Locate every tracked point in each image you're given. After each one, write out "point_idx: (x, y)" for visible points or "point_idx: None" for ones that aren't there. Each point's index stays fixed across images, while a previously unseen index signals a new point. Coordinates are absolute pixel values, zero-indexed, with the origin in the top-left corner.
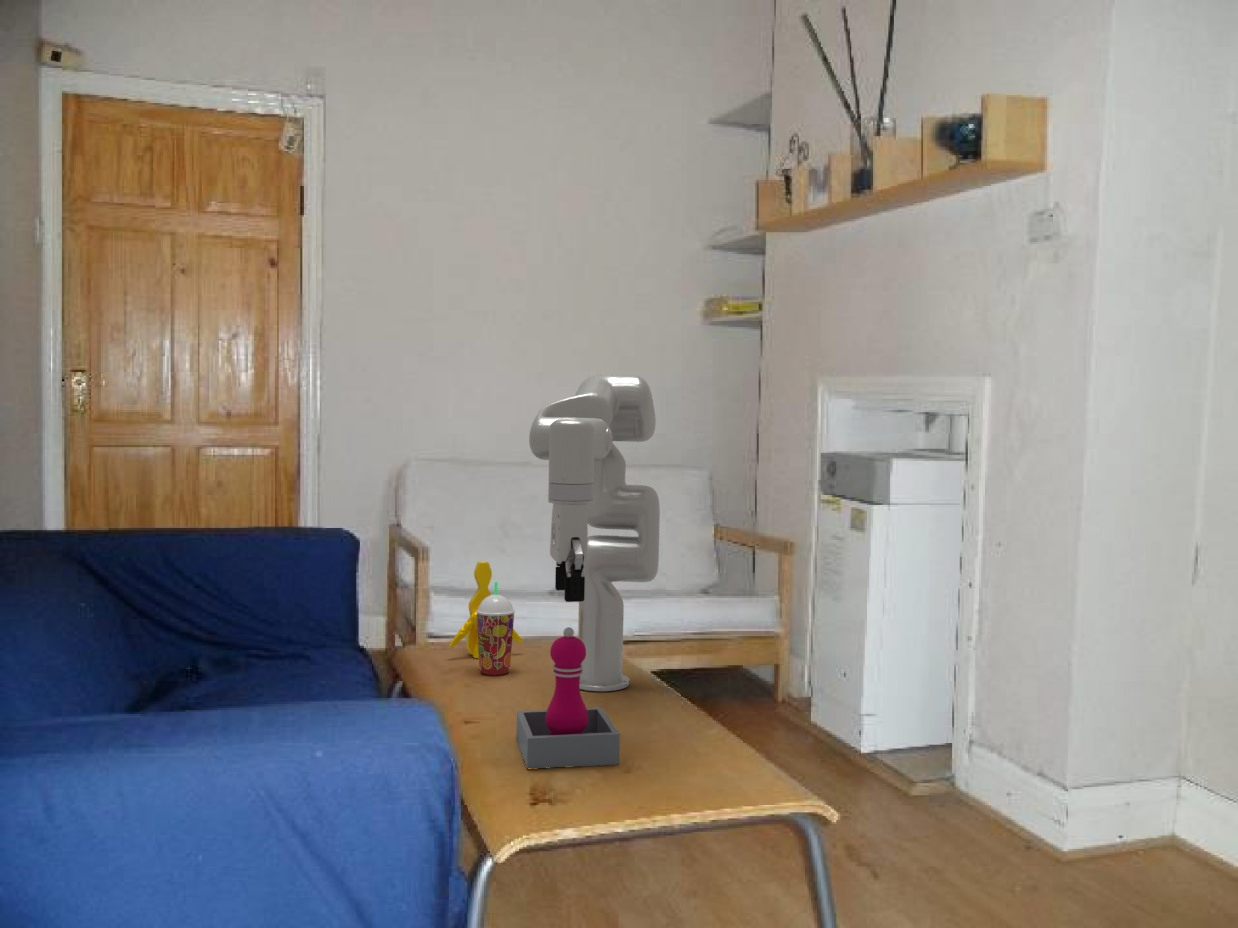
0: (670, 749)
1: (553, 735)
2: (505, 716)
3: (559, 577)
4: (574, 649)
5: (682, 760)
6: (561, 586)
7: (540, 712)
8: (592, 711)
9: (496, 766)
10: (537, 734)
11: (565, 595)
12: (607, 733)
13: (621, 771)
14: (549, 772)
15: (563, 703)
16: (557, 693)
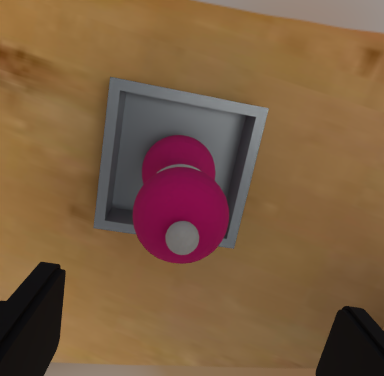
0: (140, 290)
1: (114, 125)
2: (370, 125)
3: (375, 371)
4: (134, 223)
5: (96, 288)
6: (339, 338)
7: (248, 147)
8: (227, 230)
9: (147, 37)
10: (241, 138)
11: (29, 278)
12: (101, 211)
13: (77, 204)
14: (99, 108)
15: (154, 165)
16: (170, 162)
